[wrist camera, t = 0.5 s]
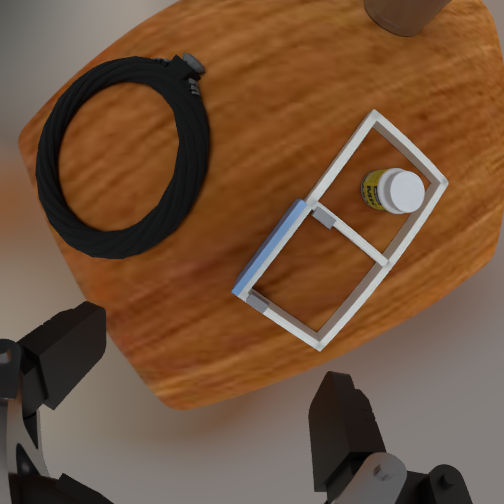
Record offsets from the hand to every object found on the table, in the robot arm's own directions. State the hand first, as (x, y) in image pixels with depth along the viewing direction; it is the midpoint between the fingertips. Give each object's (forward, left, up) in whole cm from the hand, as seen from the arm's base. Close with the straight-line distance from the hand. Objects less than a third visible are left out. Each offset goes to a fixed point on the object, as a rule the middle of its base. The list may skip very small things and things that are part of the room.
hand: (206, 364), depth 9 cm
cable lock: (+1, -21, -26) cm, 34 cm away
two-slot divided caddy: (-7, +9, -25) cm, 28 cm away
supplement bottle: (-14, +9, -26) cm, 30 cm away
